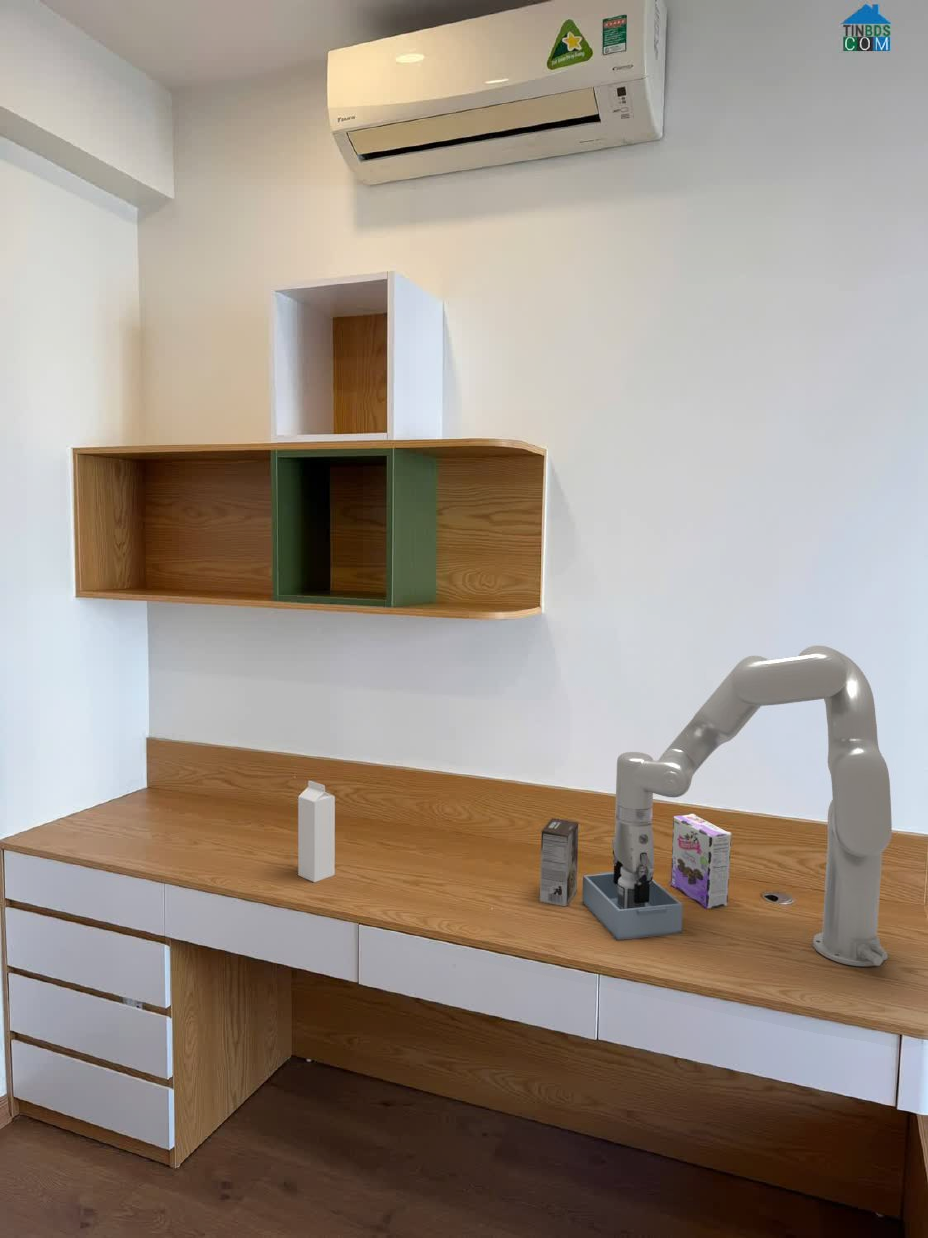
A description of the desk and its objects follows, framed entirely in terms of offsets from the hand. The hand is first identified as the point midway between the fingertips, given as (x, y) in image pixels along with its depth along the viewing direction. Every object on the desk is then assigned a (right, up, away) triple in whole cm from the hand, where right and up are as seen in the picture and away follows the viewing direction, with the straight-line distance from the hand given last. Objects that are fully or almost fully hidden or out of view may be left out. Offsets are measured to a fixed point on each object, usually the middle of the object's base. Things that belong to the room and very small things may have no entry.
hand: (630, 892), depth 176 cm
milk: (-69, -3, +20) cm, 72 cm away
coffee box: (-14, -4, +10) cm, 18 cm away
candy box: (+18, -5, +12) cm, 22 cm away
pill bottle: (0, -5, +1) cm, 5 cm away
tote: (0, -5, 0) cm, 5 cm away
